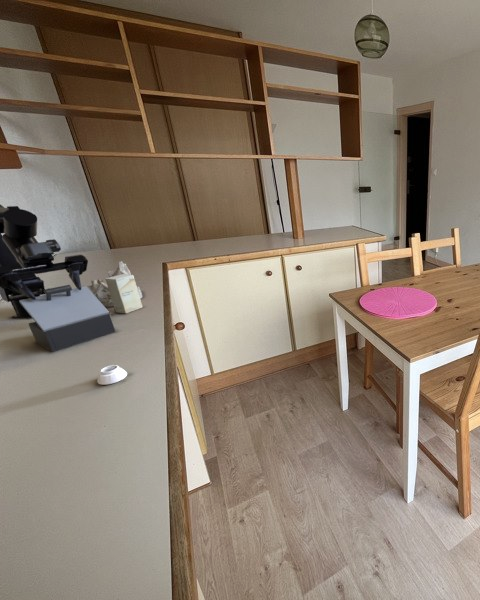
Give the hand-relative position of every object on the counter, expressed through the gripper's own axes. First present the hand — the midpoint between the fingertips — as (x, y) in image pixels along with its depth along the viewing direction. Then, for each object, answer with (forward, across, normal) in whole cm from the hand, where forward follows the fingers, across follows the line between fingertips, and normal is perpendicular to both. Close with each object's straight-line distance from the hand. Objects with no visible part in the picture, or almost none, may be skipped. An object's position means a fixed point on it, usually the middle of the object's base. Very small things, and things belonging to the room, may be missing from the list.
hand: (58, 294), depth 86 cm
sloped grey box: (+10, 0, +8) cm, 13 cm away
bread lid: (+4, 0, +1) cm, 4 cm away
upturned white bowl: (+34, -5, -16) cm, 37 cm away
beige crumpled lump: (-7, +20, +26) cm, 34 cm away
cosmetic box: (+3, +17, +15) cm, 23 cm away
